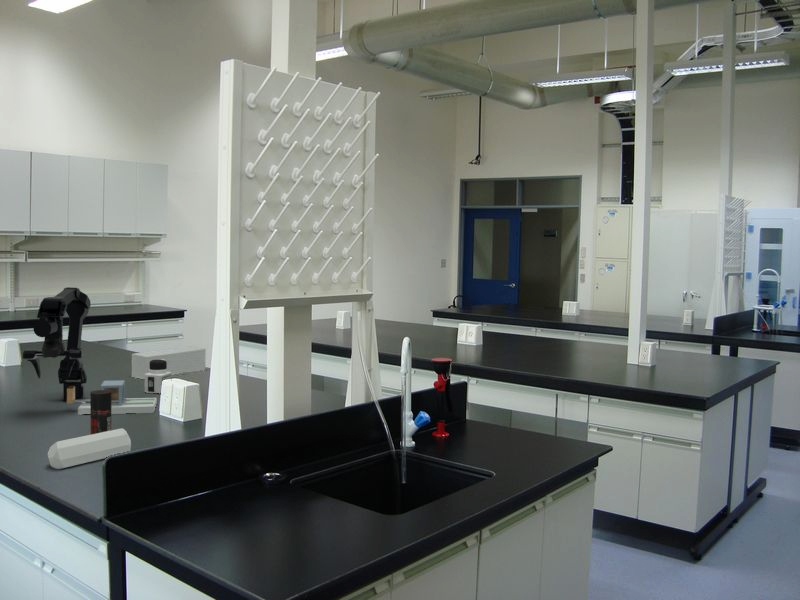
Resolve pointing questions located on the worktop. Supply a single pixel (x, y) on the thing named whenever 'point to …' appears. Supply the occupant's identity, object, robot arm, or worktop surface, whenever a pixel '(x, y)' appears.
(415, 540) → the worktop surface
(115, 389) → the block
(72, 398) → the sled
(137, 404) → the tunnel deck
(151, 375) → the container
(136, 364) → the long grey rectangular block
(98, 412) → the deodorant
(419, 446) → the worktop surface
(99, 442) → the crystal
